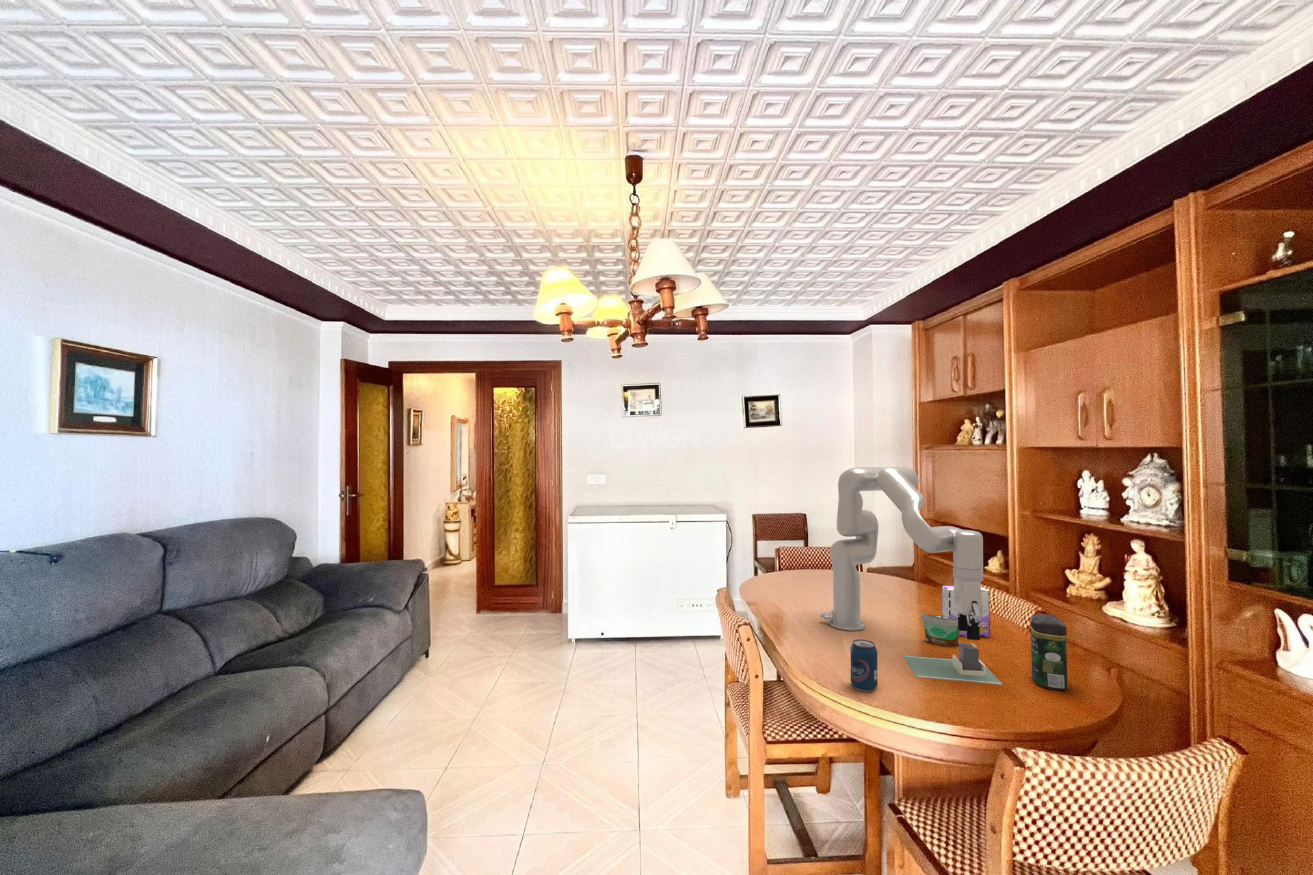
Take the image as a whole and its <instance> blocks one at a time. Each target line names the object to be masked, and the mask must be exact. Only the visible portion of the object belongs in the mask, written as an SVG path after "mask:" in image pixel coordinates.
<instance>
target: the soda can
mask: <svg viewBox="0 0 1313 875" xmlns="http://www.w3.org/2000/svg"><path fill="white" fill-rule="evenodd" d="M878 669H879V668H878V649H877V647H876V644H875V642H873V641H872V640H867V639H862V638H861V639H854V640H853V641H852V644H851V646H850V682H851V684H852V686H853V688H855V689H856V690H858V691H861V692H869V693H870V692H873V691H875V690H876V688H877V687H878V678H879V676H878V675H879V674H878Z"/></svg>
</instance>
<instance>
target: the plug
mask: <svg viewBox="0 0 1313 875" xmlns="http://www.w3.org/2000/svg"><path fill="white" fill-rule="evenodd" d="M979 649H980V648H978V646H977V645H976V644H975V643H962V642H958V660H959V661H960V662H961V663H962V670H973V671H979V659H980V654H979V653H980V650H979Z"/></svg>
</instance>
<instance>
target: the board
mask: <svg viewBox="0 0 1313 875" xmlns="http://www.w3.org/2000/svg"><path fill="white" fill-rule="evenodd" d="M902 656H903V658H904V660H905V661H906V663H907V664H908V666H909V668H910V669H911V671H912V673H913V674H914V676H915V677H916V678H921V679H923V678H924V679H934V680H943V681H956V682H967V683H974V684H975V683H977V684H987V685H999V686H1004V684H1003V682H1001V681H1000V679H999V678H997V677H996V676H995V674H994V673H993V672H992V671H991V670H990V669H989V668H988V667H987V666H986V677H984V676H973V675H961V674H959V672H958V671H957V670H956V669H955V667H954V666H953V658H942V657H941V658H939V657H928V656H917V655H916V656H915V655H906V654H905V655H904V654H903V655H902Z"/></svg>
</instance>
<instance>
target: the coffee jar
mask: <svg viewBox="0 0 1313 875" xmlns="http://www.w3.org/2000/svg"><path fill="white" fill-rule="evenodd" d="M1030 618H1031V619H1030V649H1031V650H1030V652H1031V655H1030V656H1031V657H1030V658H1031V677H1032V679H1033V681H1034V682H1035V684H1037V685H1038V686H1041V687H1044V688H1046V689H1049V690H1054V691H1055V690H1056V691H1059V690H1067V689H1068V685H1069V684H1068V679H1069V678H1068V652H1067V651H1068V650H1067V645H1068V644H1067V643H1068V642H1067V641H1068V640H1067V638H1068V635H1067V634H1068V633H1067V625H1066V624H1065V623H1064V622H1063V621H1062V620H1061V619H1059V618H1058V617H1056V616H1055V615H1052V614H1046V613H1037V614H1035V615H1033V616H1031V617H1030Z"/></svg>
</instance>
